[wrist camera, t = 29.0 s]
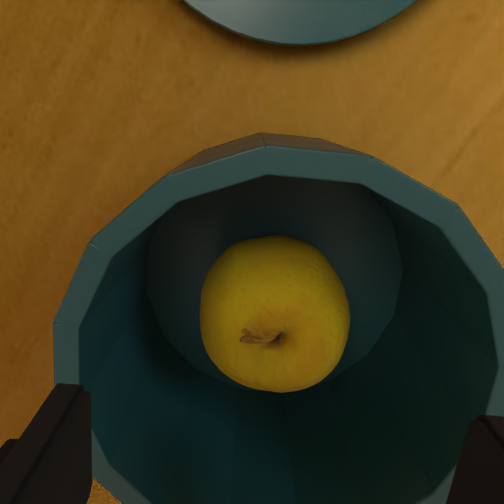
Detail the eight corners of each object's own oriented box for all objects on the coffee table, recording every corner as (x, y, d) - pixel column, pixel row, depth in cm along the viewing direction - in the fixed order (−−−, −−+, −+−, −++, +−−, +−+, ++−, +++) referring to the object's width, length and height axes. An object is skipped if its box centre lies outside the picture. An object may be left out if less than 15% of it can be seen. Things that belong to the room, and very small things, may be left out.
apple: (193, 231, 23) (162, 291, 15) (320, 204, 22) (354, 251, 15) (223, 344, 24) (209, 448, 17) (340, 321, 24) (381, 417, 16)
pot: (131, 385, 26) (58, 545, 16) (138, 119, 22) (45, 122, 12) (384, 408, 26) (461, 577, 17) (439, 150, 22) (583, 176, 12)
